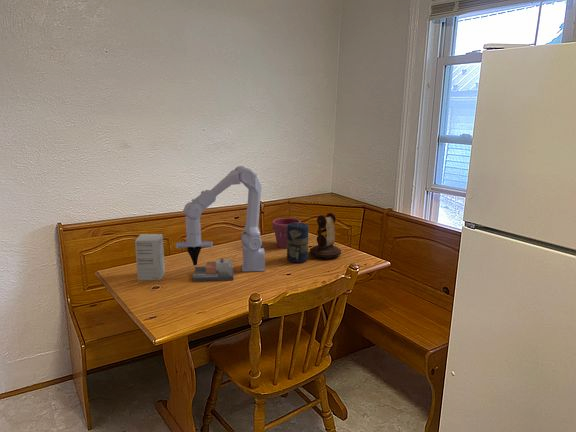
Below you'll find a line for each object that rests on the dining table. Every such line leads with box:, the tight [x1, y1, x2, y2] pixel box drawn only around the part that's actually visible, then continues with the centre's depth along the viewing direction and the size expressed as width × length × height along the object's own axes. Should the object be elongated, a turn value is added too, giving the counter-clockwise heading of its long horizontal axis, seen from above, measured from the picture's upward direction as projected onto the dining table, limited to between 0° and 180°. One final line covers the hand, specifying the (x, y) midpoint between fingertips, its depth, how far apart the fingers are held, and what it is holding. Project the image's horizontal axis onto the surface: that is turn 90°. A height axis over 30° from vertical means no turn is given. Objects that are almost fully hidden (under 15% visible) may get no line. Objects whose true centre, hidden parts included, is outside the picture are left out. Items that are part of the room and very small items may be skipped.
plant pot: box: [271, 217, 302, 249], centre depth 224 cm, size 14×14×13 cm
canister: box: [286, 221, 309, 263], centre depth 202 cm, size 10×10×18 cm
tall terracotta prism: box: [205, 261, 216, 274], centre depth 183 cm, size 4×7×4 cm, turn 6°
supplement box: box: [134, 233, 166, 281], centre depth 182 cm, size 10×9×17 cm
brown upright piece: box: [309, 212, 342, 261], centre depth 209 cm, size 15×15×20 cm
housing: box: [215, 257, 230, 275], centre depth 184 cm, size 5×4×6 cm
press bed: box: [192, 259, 235, 282], centre depth 184 cm, size 16×10×6 cm, turn 95°
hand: (195, 264), depth 182 cm, fingers closed
